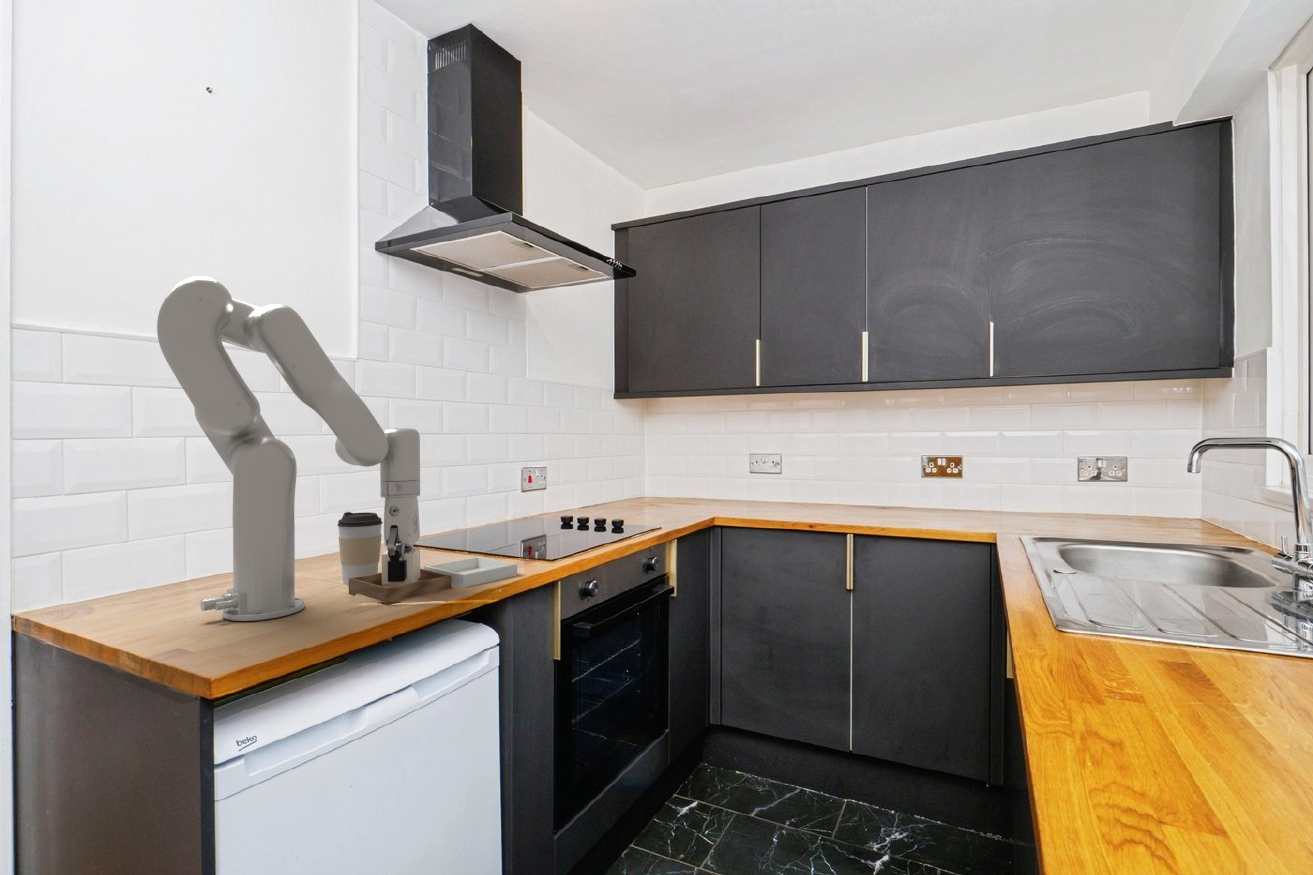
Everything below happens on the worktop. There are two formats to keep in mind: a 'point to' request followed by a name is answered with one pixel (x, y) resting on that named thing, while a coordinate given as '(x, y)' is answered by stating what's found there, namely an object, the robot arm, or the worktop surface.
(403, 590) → the walnut tray
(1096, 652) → the worktop surface
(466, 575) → the grey tray
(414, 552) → the letter cube
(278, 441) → the robot arm
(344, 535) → the coffee cup
